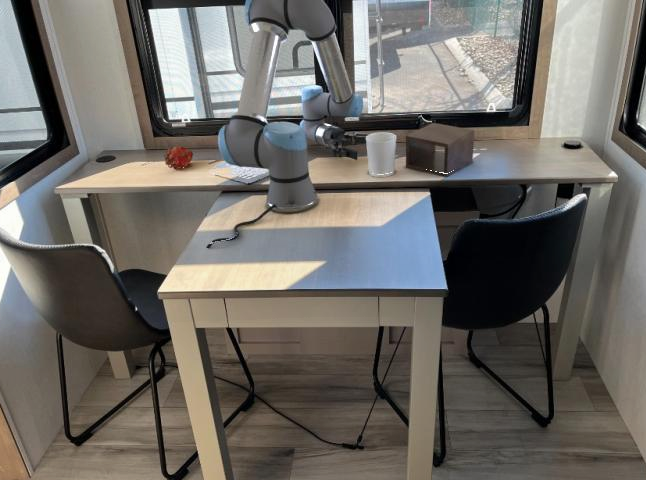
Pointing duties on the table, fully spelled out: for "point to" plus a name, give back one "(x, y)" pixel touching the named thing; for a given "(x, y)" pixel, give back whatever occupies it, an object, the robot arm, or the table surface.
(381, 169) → the candle holder
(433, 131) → the dark brown cubby box
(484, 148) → the table surface
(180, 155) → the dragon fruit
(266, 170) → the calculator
